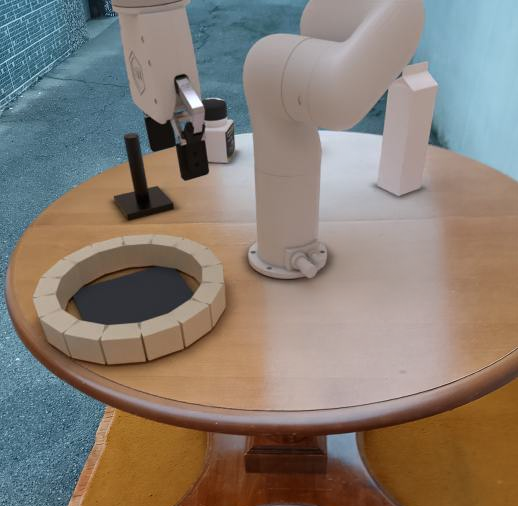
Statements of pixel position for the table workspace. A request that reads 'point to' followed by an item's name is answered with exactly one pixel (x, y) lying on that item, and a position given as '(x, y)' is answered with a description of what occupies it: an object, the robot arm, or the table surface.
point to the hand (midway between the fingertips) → (178, 162)
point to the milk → (407, 129)
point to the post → (140, 186)
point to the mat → (133, 297)
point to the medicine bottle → (218, 131)
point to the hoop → (134, 334)
